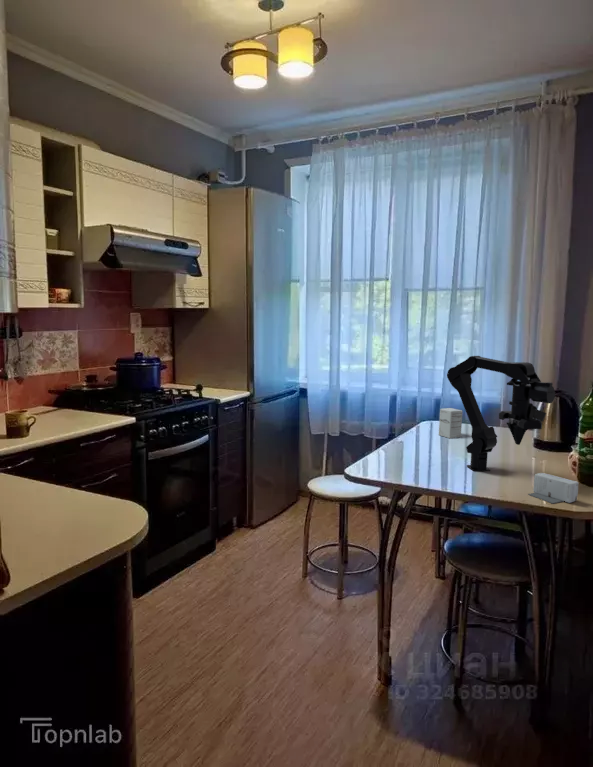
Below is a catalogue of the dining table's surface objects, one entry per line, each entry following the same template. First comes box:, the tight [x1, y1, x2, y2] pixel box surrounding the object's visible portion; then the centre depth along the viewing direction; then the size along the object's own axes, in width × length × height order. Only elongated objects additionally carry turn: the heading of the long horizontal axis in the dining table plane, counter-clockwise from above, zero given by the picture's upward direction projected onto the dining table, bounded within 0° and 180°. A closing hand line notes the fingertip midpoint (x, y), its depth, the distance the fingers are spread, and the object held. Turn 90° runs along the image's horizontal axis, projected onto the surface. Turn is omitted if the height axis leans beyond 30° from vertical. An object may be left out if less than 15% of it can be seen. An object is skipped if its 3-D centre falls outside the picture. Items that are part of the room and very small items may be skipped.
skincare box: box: [532, 472, 579, 504], centre depth 173 cm, size 6×4×12 cm
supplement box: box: [438, 407, 463, 439], centre depth 257 cm, size 7×7×13 cm
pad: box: [527, 492, 564, 505], centre depth 174 cm, size 9×8×1 cm
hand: (517, 444), depth 192 cm, fingers closed
